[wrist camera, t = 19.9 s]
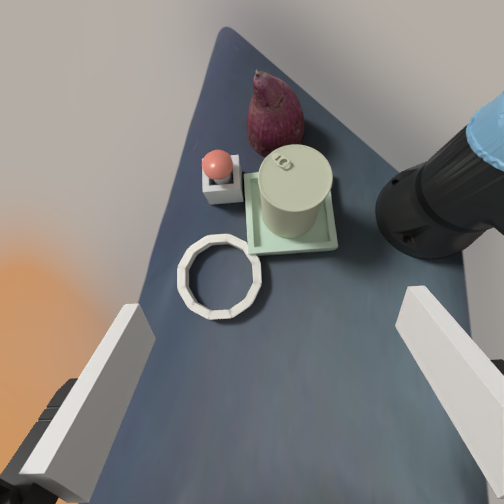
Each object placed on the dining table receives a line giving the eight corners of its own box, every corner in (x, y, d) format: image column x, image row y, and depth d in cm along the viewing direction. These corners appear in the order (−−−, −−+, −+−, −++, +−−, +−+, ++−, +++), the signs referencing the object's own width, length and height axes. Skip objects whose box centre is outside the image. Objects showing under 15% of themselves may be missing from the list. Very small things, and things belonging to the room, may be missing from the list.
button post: (242, 171, 45) (238, 154, 40) (243, 201, 44) (240, 188, 39) (209, 174, 45) (202, 158, 41) (210, 204, 44) (202, 192, 39)
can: (291, 176, 43) (298, 127, 31) (328, 214, 41) (351, 177, 29) (250, 209, 42) (242, 172, 30) (286, 249, 40) (291, 226, 28)
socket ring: (258, 234, 42) (258, 231, 41) (264, 315, 39) (263, 316, 38) (181, 240, 43) (177, 237, 41) (181, 320, 40) (177, 321, 39)
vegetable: (253, 168, 49) (219, 126, 34) (251, 118, 49) (217, 57, 35) (307, 158, 45) (295, 108, 31) (305, 105, 46) (291, 32, 32)
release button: (237, 170, 44) (231, 148, 37) (238, 194, 43) (232, 176, 36) (211, 173, 44) (201, 151, 38) (212, 197, 43) (202, 178, 37)
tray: (323, 173, 44) (326, 165, 41) (334, 250, 41) (338, 247, 38) (245, 180, 45) (243, 173, 42) (249, 256, 42) (248, 253, 39)
